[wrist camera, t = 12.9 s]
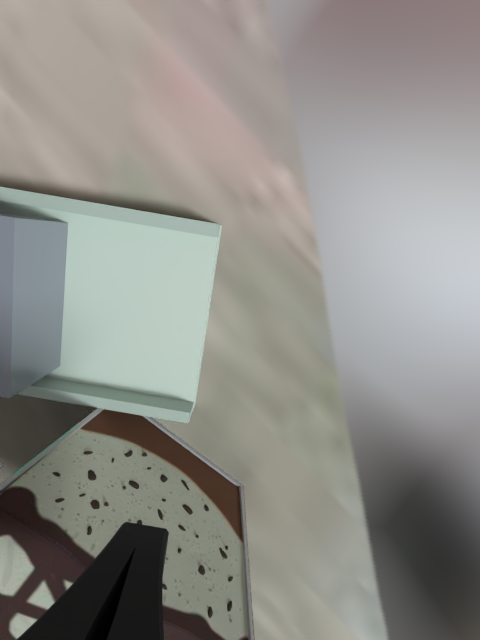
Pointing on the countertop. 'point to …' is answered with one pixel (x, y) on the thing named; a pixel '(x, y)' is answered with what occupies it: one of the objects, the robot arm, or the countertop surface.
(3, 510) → the food container
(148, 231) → the runway
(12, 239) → the slab
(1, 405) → the countertop surface
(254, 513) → the countertop surface
